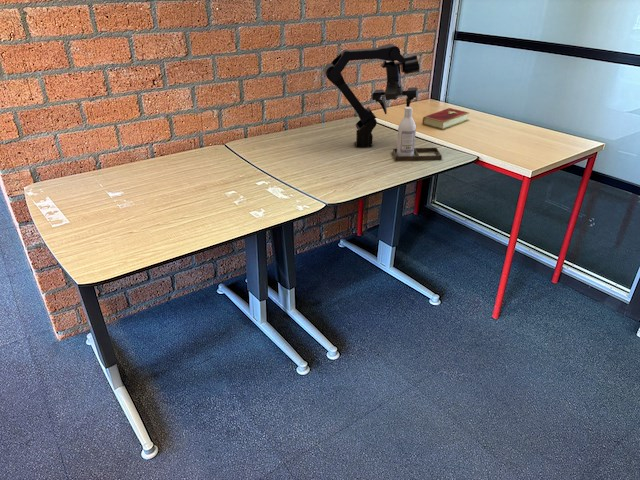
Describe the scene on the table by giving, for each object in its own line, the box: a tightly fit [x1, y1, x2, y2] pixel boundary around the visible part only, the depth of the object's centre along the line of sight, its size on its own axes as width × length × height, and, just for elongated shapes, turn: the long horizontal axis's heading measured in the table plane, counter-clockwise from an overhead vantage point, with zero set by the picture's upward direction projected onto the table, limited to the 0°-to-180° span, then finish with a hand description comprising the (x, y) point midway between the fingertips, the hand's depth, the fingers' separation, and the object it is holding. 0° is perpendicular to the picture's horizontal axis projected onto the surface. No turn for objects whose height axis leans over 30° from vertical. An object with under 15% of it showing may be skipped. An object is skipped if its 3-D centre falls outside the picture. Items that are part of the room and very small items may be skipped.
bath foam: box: [396, 106, 417, 156], centre depth 196 cm, size 7×7×20 cm
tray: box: [392, 147, 443, 162], centre depth 201 cm, size 18×10×2 cm, turn 91°
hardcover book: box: [422, 107, 470, 131], centre depth 238 cm, size 12×21×4 cm, turn 132°
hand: (396, 113), depth 209 cm, fingers open, 9 cm apart
